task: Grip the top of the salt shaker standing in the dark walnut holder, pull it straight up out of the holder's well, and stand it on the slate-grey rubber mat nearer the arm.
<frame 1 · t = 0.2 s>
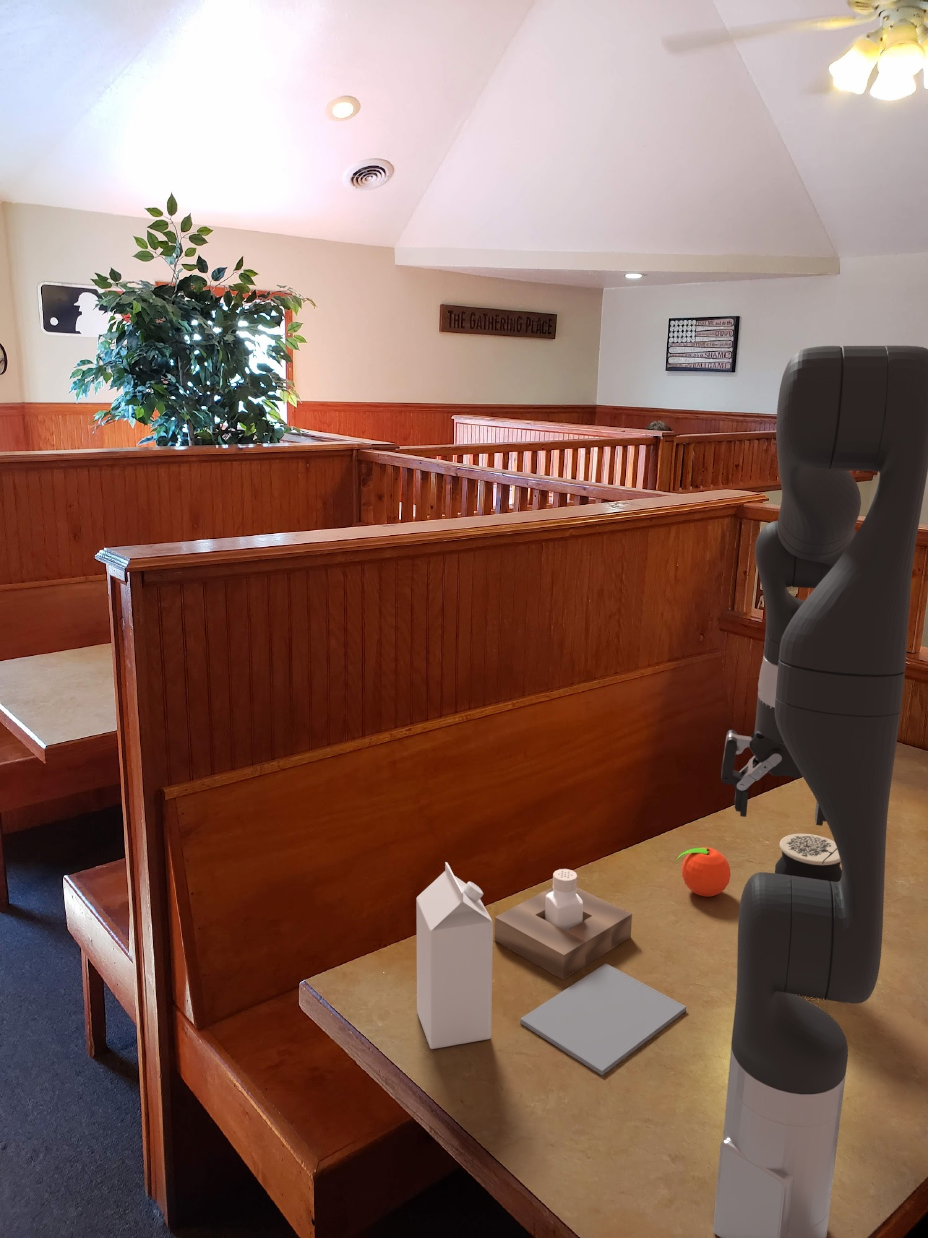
hand: (780, 817, 113), 23 cm above the table, tool pointing down, fingers open, 8 cm apart
salt shaker: (562, 940, 128), resting in shaker holder
placemat: (603, 1017, 112), on the table
shaker holder: (562, 938, 128), on the table
clementine: (700, 894, 140), on the table
milk carton: (453, 1027, 111), on the table
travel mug: (798, 979, 120), on the table
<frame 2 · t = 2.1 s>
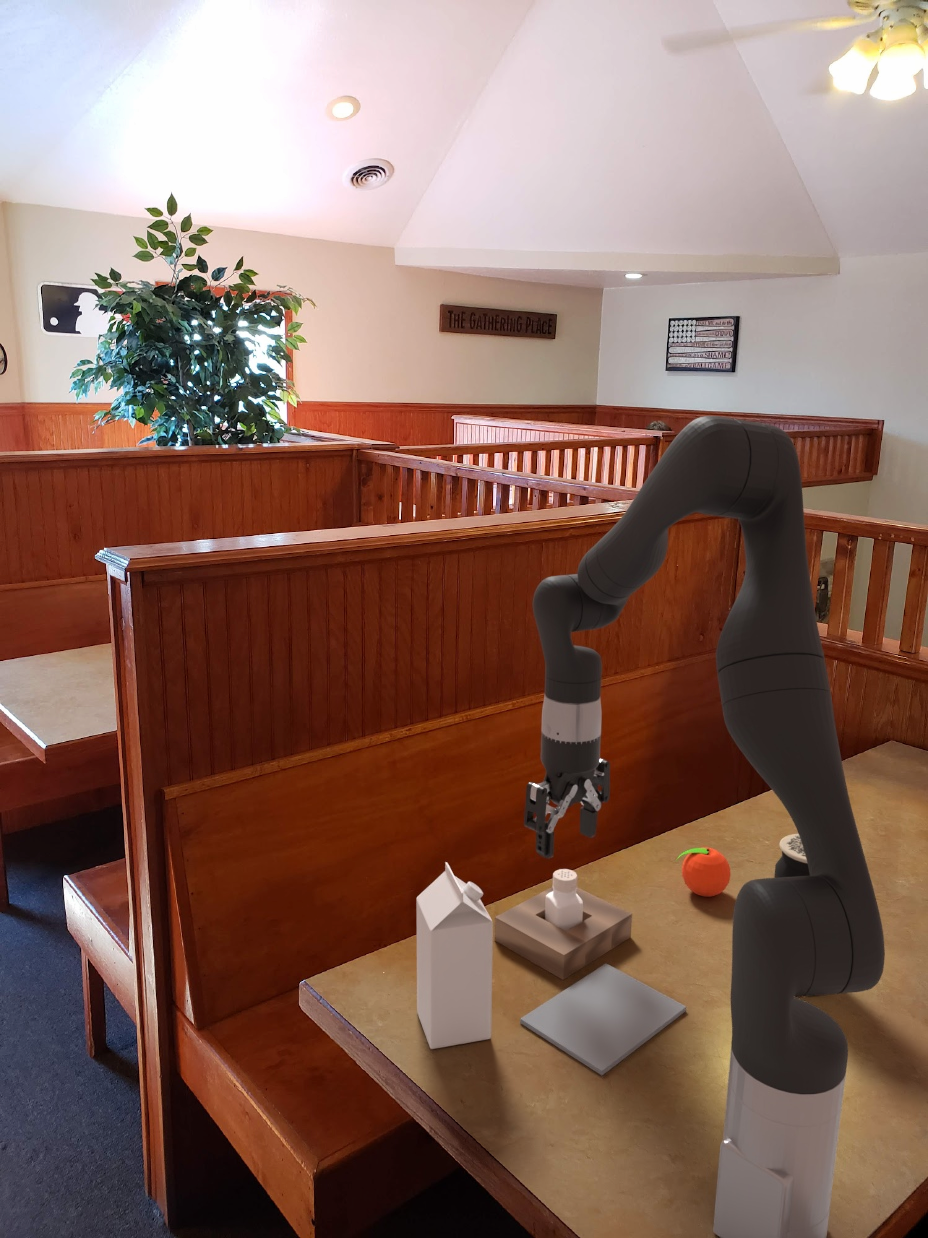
hand: (566, 845, 125), 14 cm above the table, tool pointing down, fingers open, 8 cm apart
nothing on the table moved.
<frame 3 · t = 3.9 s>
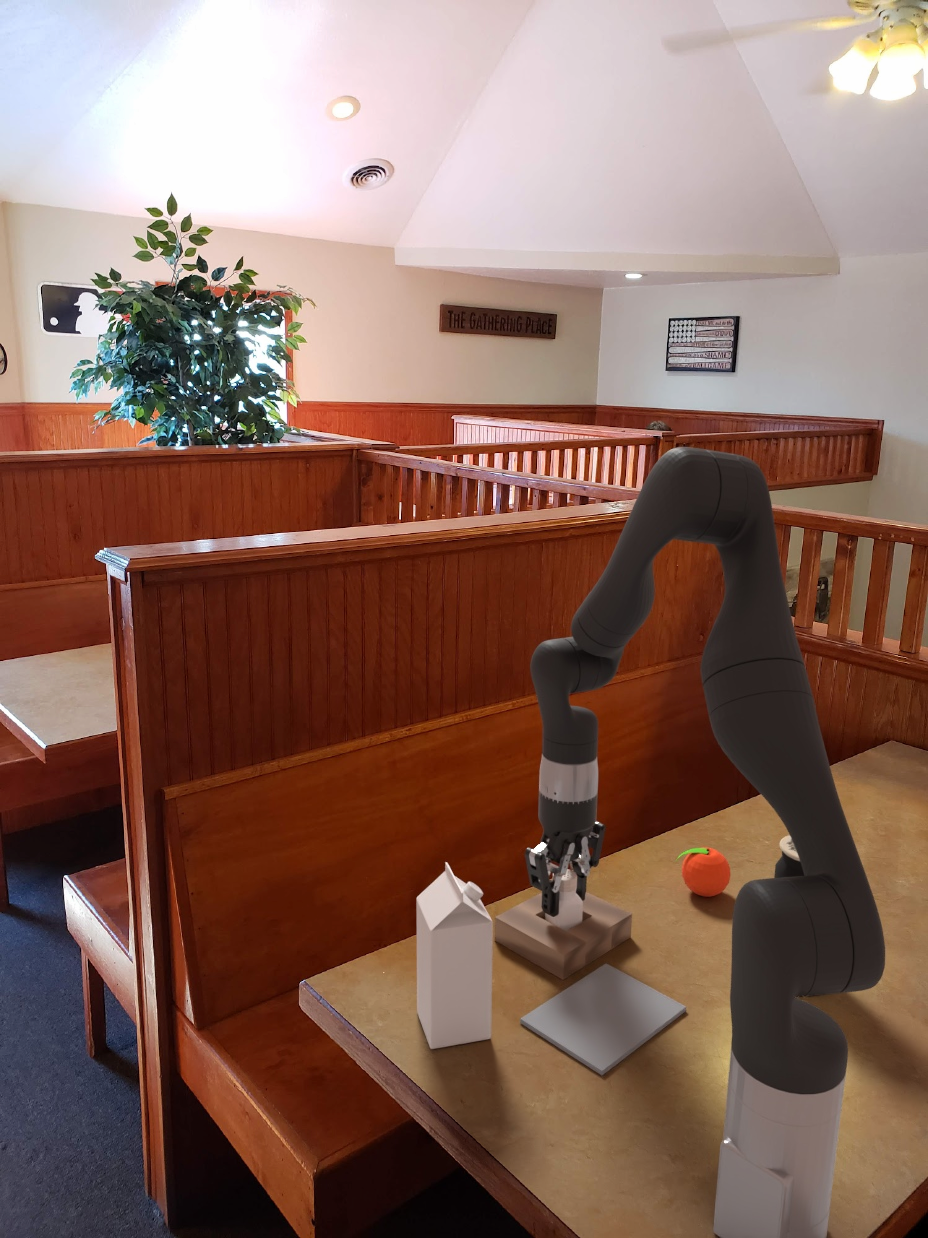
hand: (564, 906, 127), 5 cm above the table, tool pointing down, fingers closed on salt shaker, 4 cm apart
salt shaker: (562, 940, 128), resting in shaker holder, touching gripper
everything else where it was.
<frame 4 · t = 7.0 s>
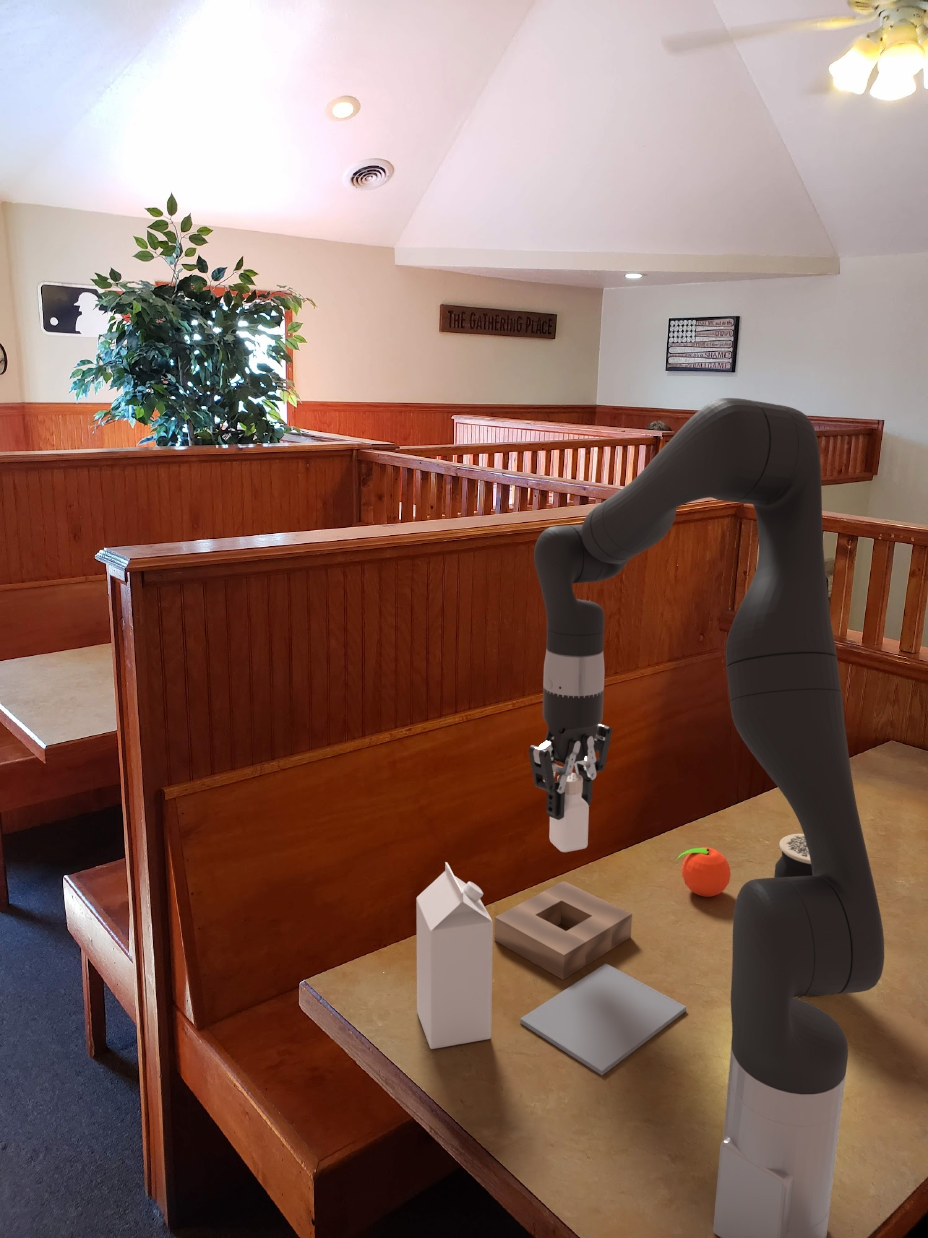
hand: (569, 810, 123), 19 cm above the table, tool pointing down, fingers closed on salt shaker, 4 cm apart
salt shaker: (568, 847, 124), point 14 cm above the table, touching gripper
everything else where it was.
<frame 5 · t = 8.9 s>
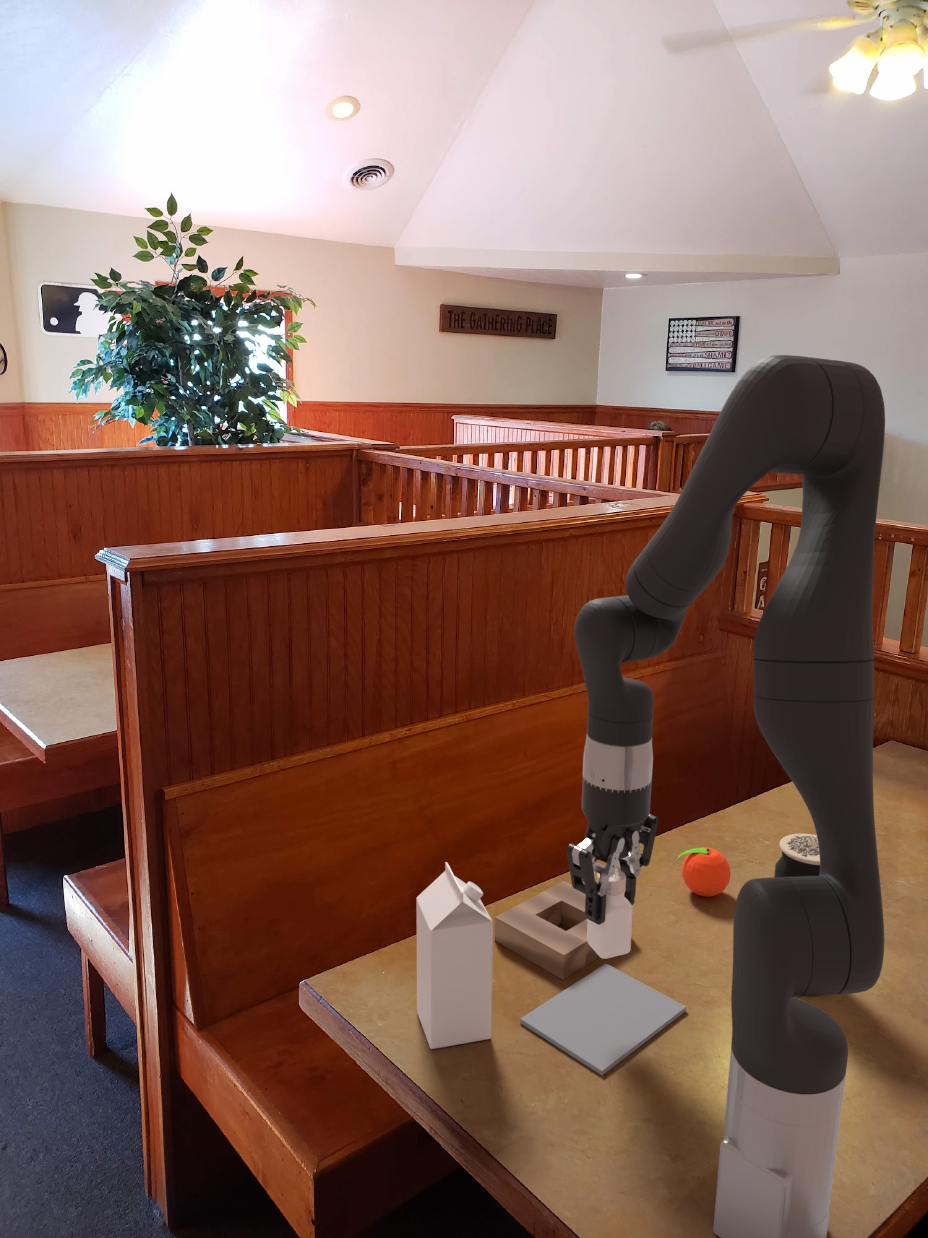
hand: (610, 911, 109), 14 cm above the table, tool pointing down, fingers closed on salt shaker, 4 cm apart
salt shaker: (608, 950, 110), point 9 cm above the table, touching gripper
everything else where it was.
when the fingers open (7 cm above the table, at t = 10.3 s): salt shaker drops 2 cm, resting on placemat.
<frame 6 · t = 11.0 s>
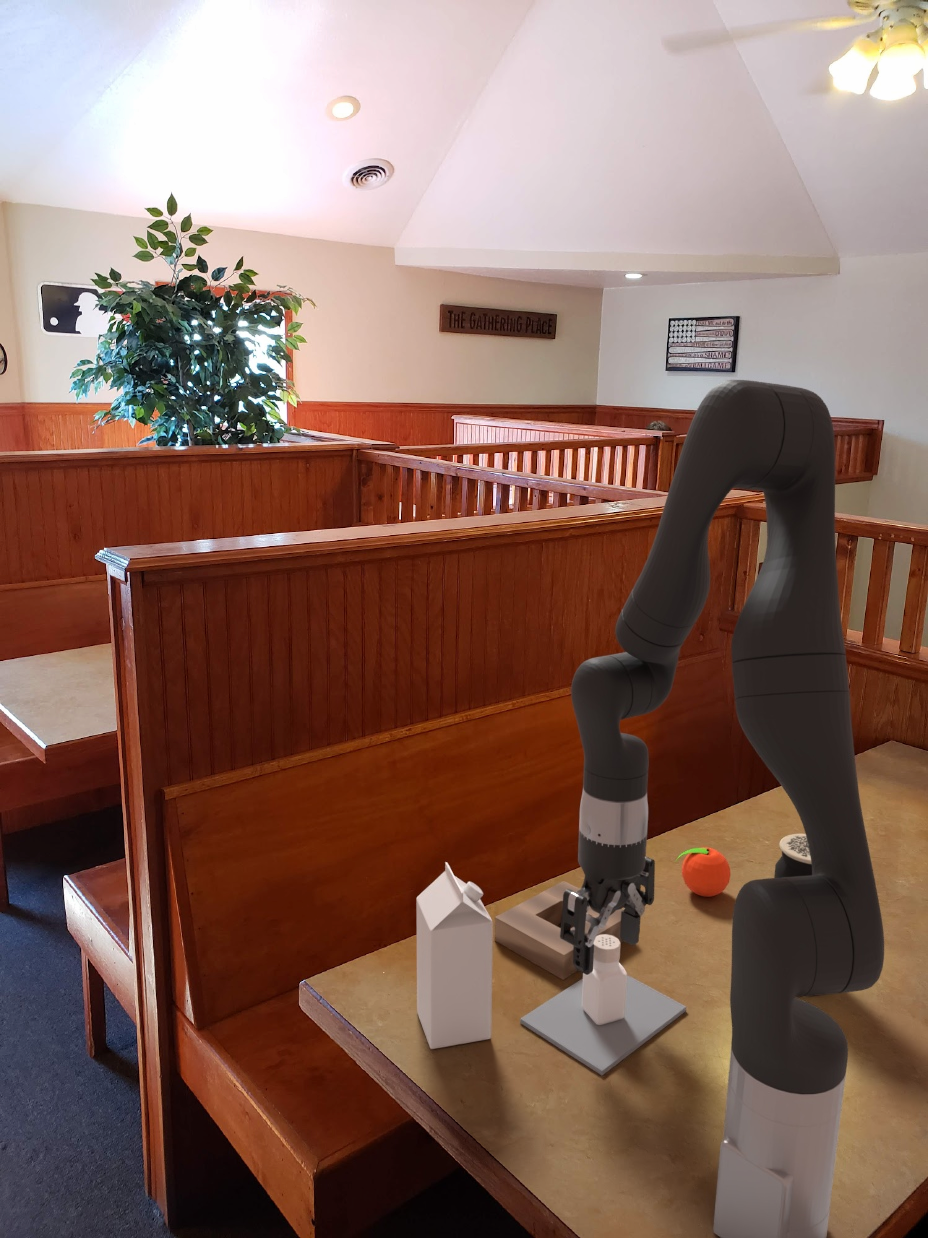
hand: (606, 956, 110), 8 cm above the table, tool pointing down, fingers open, 8 cm apart
salt shaker: (603, 1015, 112), resting on placemat
everything else where it was.
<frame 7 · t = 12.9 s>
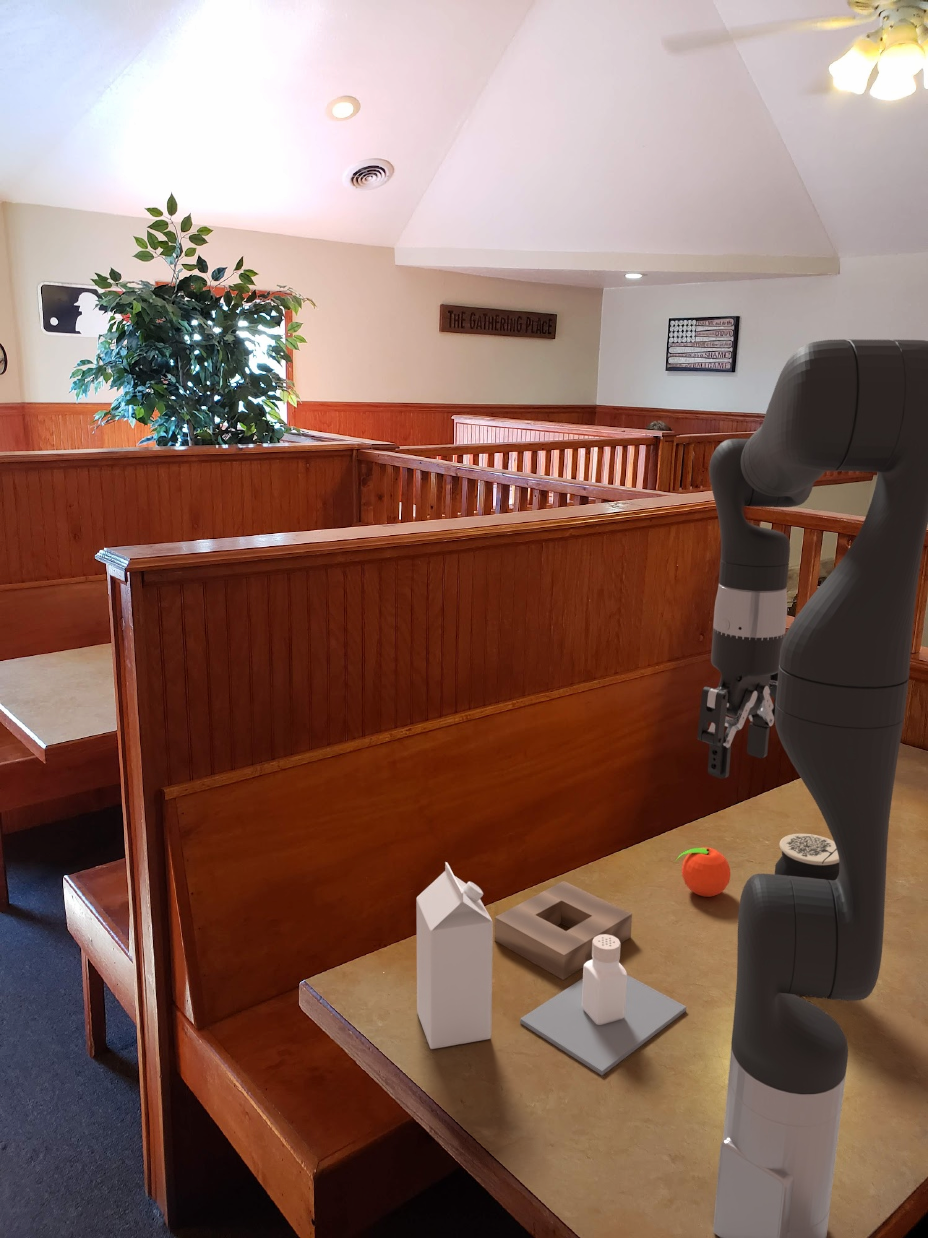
hand: (737, 765, 107), 31 cm above the table, tool pointing down, fingers open, 8 cm apart
nothing on the table moved.
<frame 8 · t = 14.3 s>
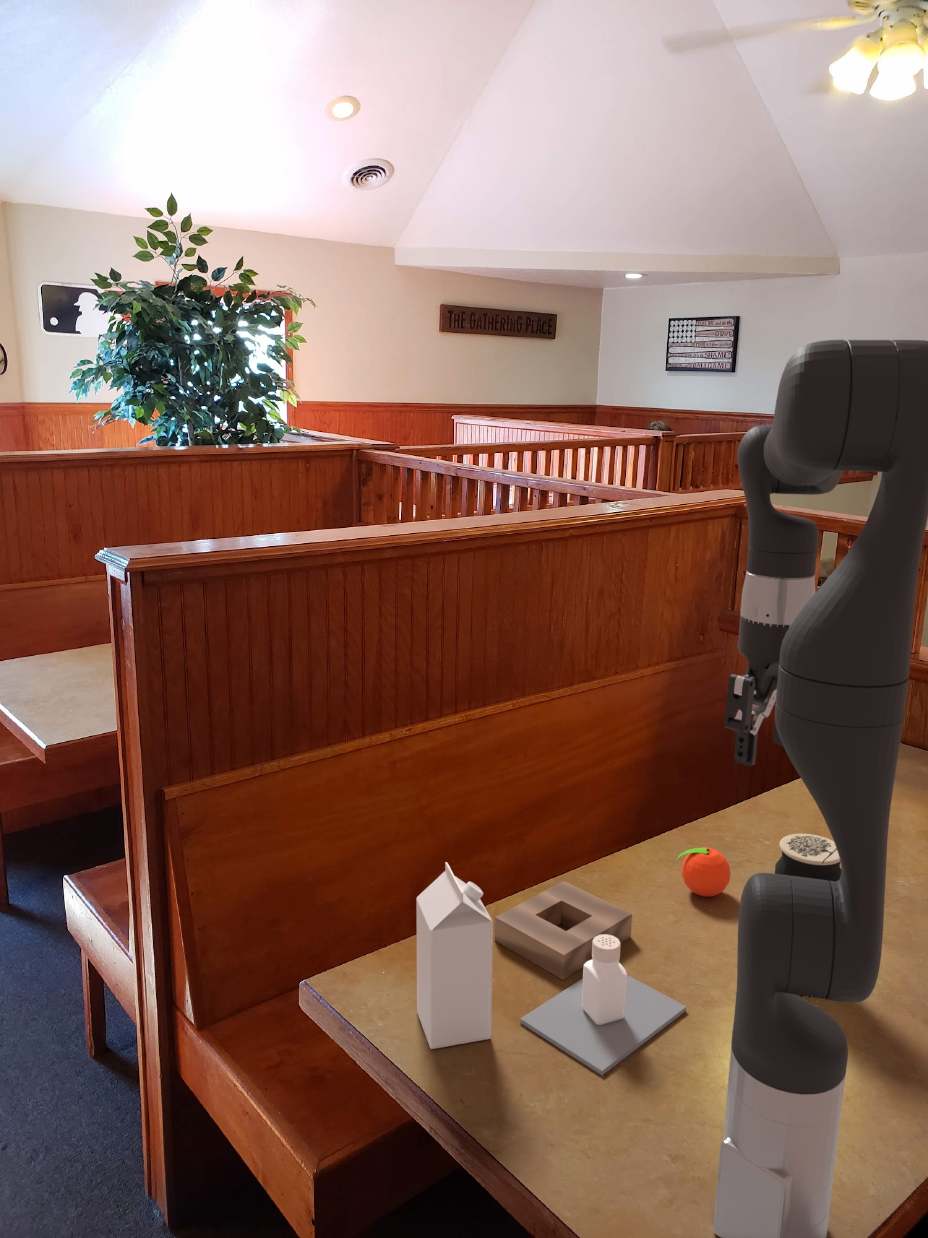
hand: (764, 754, 107), 32 cm above the table, tool pointing down, fingers open, 8 cm apart
nothing on the table moved.
at the end: salt shaker inside the target area on the placemat (0.3 cm from its centre), point 0.4 cm above the placemat's base; salt shaker tilted 0°; the gripper is holding nothing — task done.
